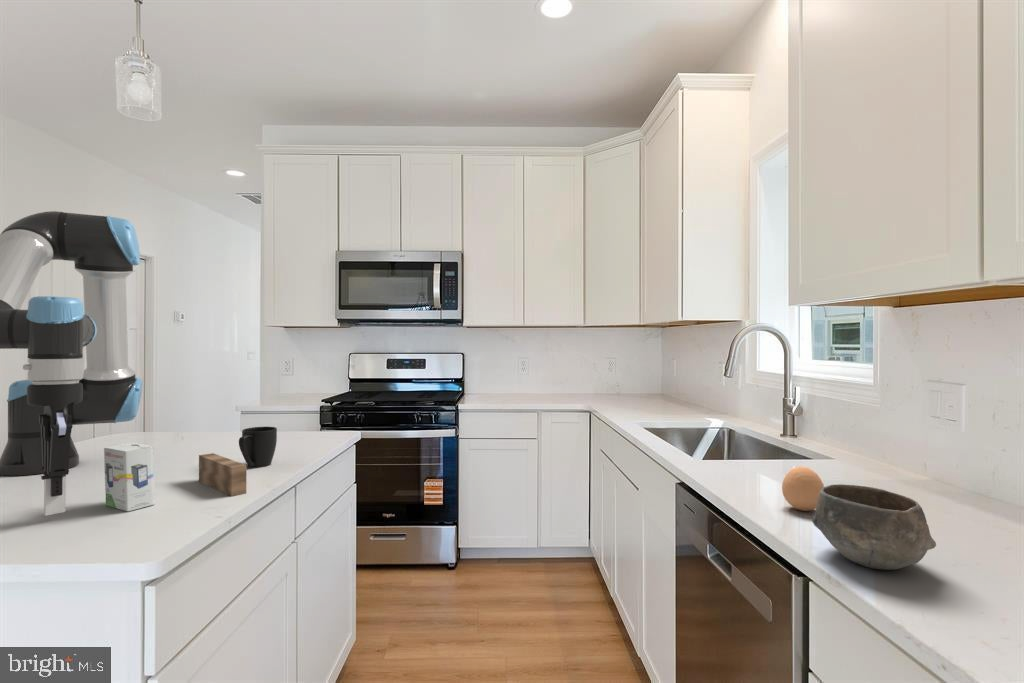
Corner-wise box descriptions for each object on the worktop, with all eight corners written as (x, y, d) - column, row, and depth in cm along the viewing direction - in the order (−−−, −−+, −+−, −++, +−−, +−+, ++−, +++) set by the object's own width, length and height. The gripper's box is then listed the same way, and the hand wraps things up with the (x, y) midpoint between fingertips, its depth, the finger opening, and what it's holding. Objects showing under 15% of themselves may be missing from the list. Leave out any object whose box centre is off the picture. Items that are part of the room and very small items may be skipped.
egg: (778, 511, 99) (778, 467, 99) (785, 501, 105) (785, 460, 105) (822, 519, 95) (822, 473, 95) (826, 509, 101) (827, 466, 101)
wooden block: (198, 481, 118) (198, 455, 118) (212, 478, 120) (213, 453, 120) (231, 496, 107) (231, 467, 107) (246, 493, 109) (246, 465, 109)
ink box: (155, 505, 101) (155, 445, 101) (125, 513, 96) (125, 450, 96) (132, 498, 105) (132, 441, 105) (102, 506, 100) (102, 446, 100)
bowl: (856, 584, 69) (856, 510, 69) (793, 540, 85) (793, 480, 85) (958, 584, 69) (958, 511, 69) (876, 540, 85) (877, 480, 85)
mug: (224, 472, 126) (224, 433, 126) (254, 461, 138) (255, 426, 138) (255, 473, 125) (255, 434, 125) (283, 462, 137) (283, 426, 137)
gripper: (21, 381, 93) (20, 510, 93) (33, 385, 85) (32, 527, 85) (74, 379, 99) (73, 500, 99) (90, 383, 91) (89, 515, 91)
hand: (54, 512), depth 92 cm, fingers closed
